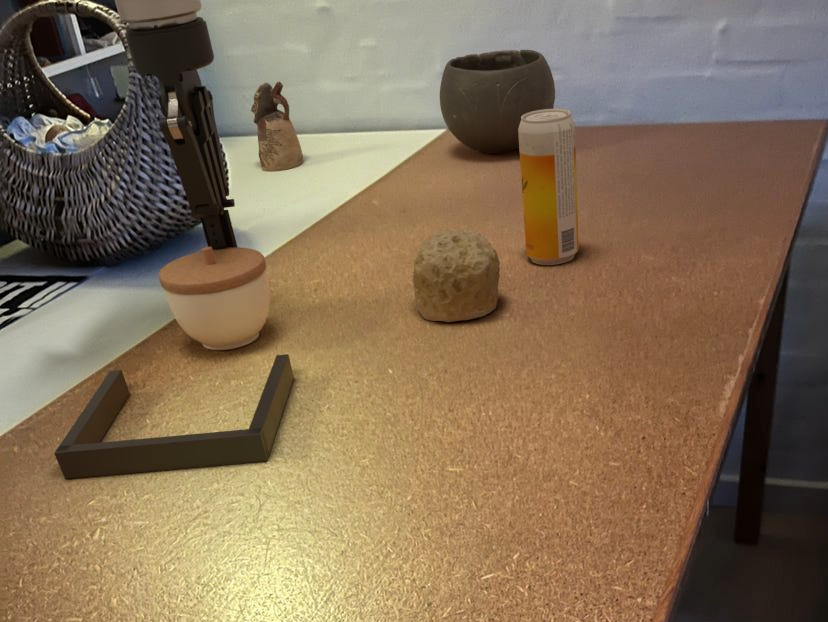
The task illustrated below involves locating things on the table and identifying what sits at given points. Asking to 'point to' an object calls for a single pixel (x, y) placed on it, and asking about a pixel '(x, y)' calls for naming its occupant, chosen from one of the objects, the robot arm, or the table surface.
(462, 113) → the bowl
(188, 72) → the robot arm
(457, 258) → the coral
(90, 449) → the frame
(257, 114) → the figurine
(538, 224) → the beer can
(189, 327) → the trinket box
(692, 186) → the table surface
